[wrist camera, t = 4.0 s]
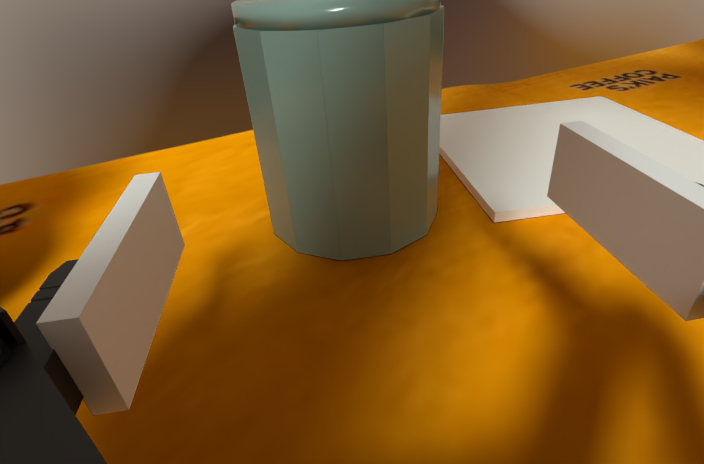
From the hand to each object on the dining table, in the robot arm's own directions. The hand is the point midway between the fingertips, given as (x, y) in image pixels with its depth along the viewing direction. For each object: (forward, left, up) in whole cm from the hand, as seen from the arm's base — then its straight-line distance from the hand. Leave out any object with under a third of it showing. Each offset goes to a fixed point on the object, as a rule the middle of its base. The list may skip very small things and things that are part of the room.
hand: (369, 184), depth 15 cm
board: (-15, -14, -6) cm, 21 cm away
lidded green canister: (0, -9, -6) cm, 10 cm away
